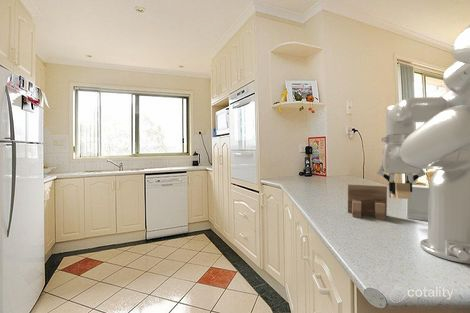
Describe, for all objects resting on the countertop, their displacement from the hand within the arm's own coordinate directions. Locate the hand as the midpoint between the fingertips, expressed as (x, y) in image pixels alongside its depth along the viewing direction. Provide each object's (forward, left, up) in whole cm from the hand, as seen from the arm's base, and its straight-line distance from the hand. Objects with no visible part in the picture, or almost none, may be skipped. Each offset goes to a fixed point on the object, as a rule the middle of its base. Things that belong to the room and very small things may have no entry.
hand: (400, 193), depth 76 cm
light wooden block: (+1, 0, -2) cm, 2 cm away
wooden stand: (+11, +8, -12) cm, 19 cm away
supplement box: (+17, -10, -12) cm, 23 cm away
